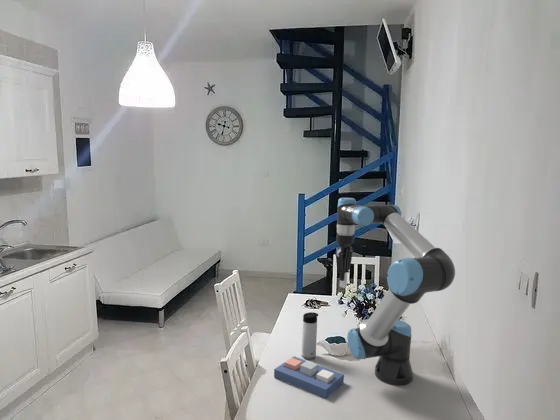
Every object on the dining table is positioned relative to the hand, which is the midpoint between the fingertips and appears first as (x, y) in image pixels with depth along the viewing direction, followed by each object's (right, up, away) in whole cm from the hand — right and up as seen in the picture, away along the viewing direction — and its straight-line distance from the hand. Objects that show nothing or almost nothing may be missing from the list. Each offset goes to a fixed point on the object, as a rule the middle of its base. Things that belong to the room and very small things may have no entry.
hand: (342, 287), depth 187 cm
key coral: (-22, -32, -11) cm, 40 cm away
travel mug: (-14, -32, +4) cm, 35 cm away
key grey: (-16, -31, -16) cm, 39 cm away
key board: (-16, -34, -15) cm, 41 cm away
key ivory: (-10, -33, -20) cm, 40 cm away
